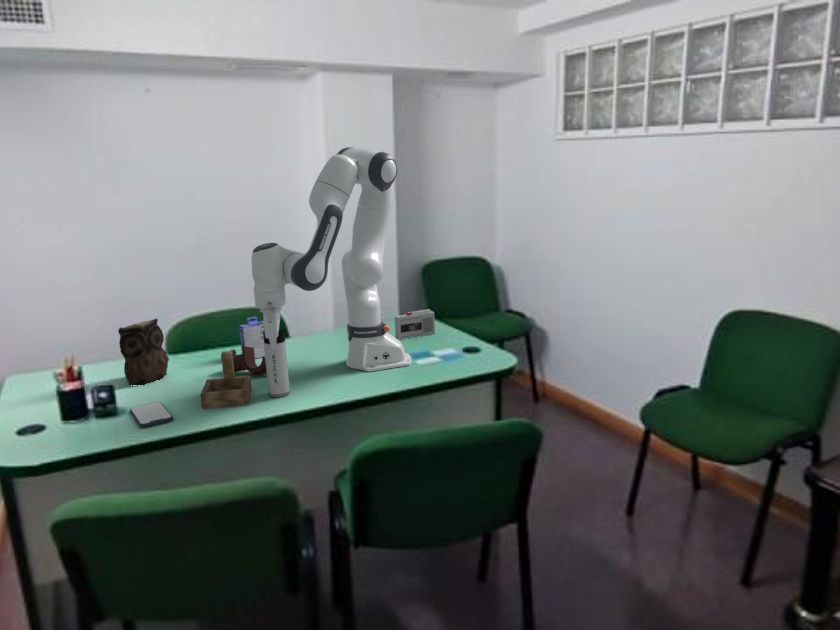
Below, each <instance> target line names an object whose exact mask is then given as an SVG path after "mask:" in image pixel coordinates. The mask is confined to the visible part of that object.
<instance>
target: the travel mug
mask: <svg viewBox="0 0 840 630" xmlns="http://www.w3.org/2000/svg"><path fill="white" fill-rule="evenodd" d="M263 337H264V350H265V360H266V370H267V373H266V379H267V389H268V396H269V397H271V398H277V399H278V398H283V397H287V396H288V395H290V393H291V391H290V390H291V389H290V379H289V377H290V376H289V368H288V367H289V366H288V357H287V345H286V339H285V338H286V336H285V331H284V330H282V329H279V333H278V337H277V348H276V349H271V347H270V341H269V338H266V337H265V331H264V332H263Z"/></svg>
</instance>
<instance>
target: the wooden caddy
mask: <svg viewBox="0 0 840 630" xmlns="http://www.w3.org/2000/svg"><path fill="white" fill-rule="evenodd" d="M220 358H221V366H222V367H221V368H222V375H223V377H220V378H219V377H218V378H209V379H208V378H207V379H206V380H205V383H204V385H203V388H202V389H201V391H200V395H199V396H200V402H201V409H202V410H208V409H217V408H229V407H230V408H231V407H239V406H249V405H250V399H251V394H252V390H253V389H252V378H251V375H240V376H239V375H238V376H236V375H235V374H236V372H234V364H233V354H232V351H230V350H227V351H221V353H220Z"/></svg>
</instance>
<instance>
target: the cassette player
mask: <svg viewBox="0 0 840 630" xmlns="http://www.w3.org/2000/svg"><path fill="white" fill-rule="evenodd" d="M435 323H436V322H435V312H434V311H432V310H431V309H429V308H428V309H421V310H416V311H408V312H406V314H399V315H395V316H394V329H395V338H397V339H402V340H405V339H404V338H408V339H411V338H410V337H415V338H418V337H417V336H421V337H424V336H423V335H427V336H431V335H430V334H434V335H435V334H436V332H435V331H436V325H435Z"/></svg>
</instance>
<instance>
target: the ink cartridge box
mask: <svg viewBox="0 0 840 630" xmlns="http://www.w3.org/2000/svg"><path fill="white" fill-rule="evenodd" d="M253 319H254V320H253ZM246 320H247V323H245V324H240V325H238V331H239V332H238V333H239V339H240V346H241V349H242V346H243V345H244V346H251V347H254V354H255V359H258V358H262V356H265V350H264V337H263V332H264V320H261V321H259V320H258V317H257V316H256V315H255V316H250V317H249V316H248V317H246Z"/></svg>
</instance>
